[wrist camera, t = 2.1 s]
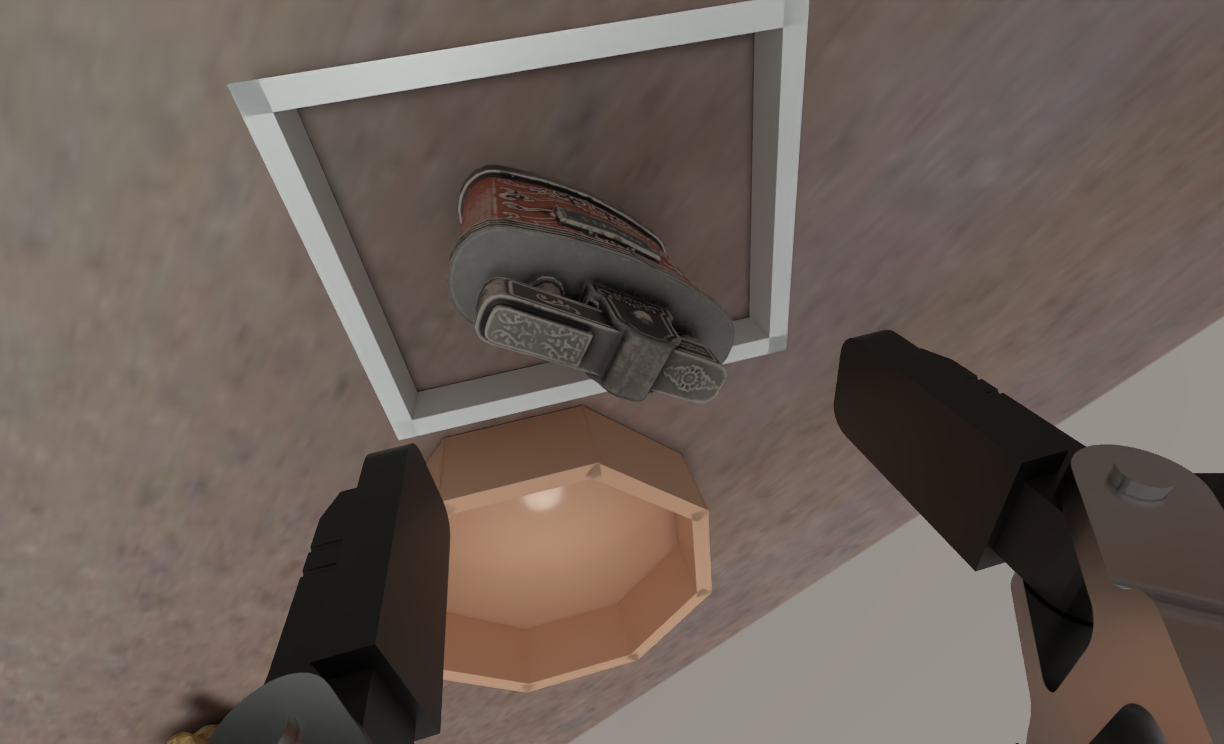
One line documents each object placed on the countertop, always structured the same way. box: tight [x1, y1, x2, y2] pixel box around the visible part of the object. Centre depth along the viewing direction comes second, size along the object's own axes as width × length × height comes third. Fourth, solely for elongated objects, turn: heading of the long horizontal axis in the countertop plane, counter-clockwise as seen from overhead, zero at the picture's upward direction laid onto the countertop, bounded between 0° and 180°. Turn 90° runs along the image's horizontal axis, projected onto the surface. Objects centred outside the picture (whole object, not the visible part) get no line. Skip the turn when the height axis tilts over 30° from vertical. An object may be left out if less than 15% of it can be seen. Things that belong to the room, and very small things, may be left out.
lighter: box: [446, 165, 735, 404], centre depth 15 cm, size 8×3×10 cm, turn 65°
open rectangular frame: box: [227, 0, 809, 440], centre depth 19 cm, size 17×13×2 cm
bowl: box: [426, 405, 712, 693], centre depth 26 cm, size 16×16×4 cm
